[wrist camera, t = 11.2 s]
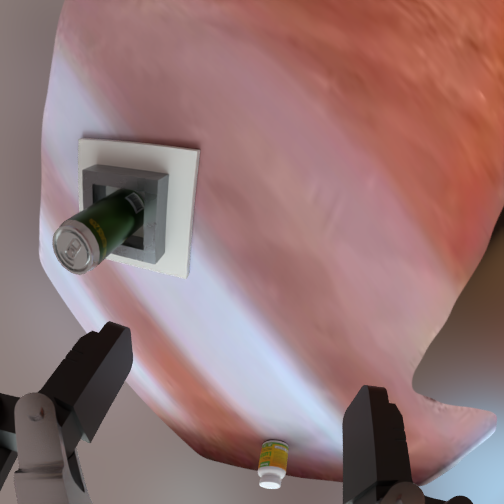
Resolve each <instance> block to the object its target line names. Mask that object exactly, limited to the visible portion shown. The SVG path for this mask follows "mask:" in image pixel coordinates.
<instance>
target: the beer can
mask: <svg viewBox="0 0 504 504" xmlns="http://www.w3.org/2000/svg"><path fill="white" fill-rule="evenodd" d="M143 224H144V198H143V197H142V195H141V194H139V193H138V192H137V191H135V190H129V189H123V188H122V189H119V190H117V191H115V192H113V193H111V194H109V195H108V196H106V197H104V198H103V199H101V200H99V201H97V202H96V203H94V204H92V205H91V206H89V207H87V208H86V209H84V210H82V211H81V212H79V213H77V214H76V215H74V216H72V217H71V218H69V219H68V220H66V221H64V222H63V223H62V224H61V225H60V227H59V228H58V229H57V230H56V232H55V233H54V236H53V249H54V253H55V255H56V257H57V259H58V261H59V262H60V263H61V265H62V266H63V267H64V268H65V269H67V270H68V271H70V272H72V273H74V274H79V275H81V274H85V273H86V272H87V271H91V270H93V269H94V268H95V267H96V266H97V265H99V264H100V263H101V262H102V261H103V260H104V259H105V258H106V257H107V256H108V255H110V254H111V253H112V252H113V251H114V250H115V249H116V248H117V247H119V246H120V245H121V244H122V243H123V242H124V241H125V240H126V239H128V238H129V237H130V236H131V235H132V234H133V233H135V232H136V231H137V230H138V229H139V228H140V227H142V226H143Z"/></svg>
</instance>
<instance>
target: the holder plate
mask: <svg viewBox="0 0 504 504" xmlns="http://www.w3.org/2000/svg"><path fill="white" fill-rule="evenodd" d="M199 157H200V150H198V149H191V148H183V147H176V146H168V145H159V144H150V143H141V142H131V141H120V140H107V139H93V138H81V139H79V145H78V184H79V210H80V212H81V211H82V210H83V187H82V170H83V169H86V168H88V167H91V166H93V165H96V164H99V165H108V166H116V167H124V168H131V169H138V170H146V171H153V172H159V173H166V174H169V183H168V198H167V215H166V236H165V254H164V255H163V256H162V257H161V258H160V260H159V261H158V262H157V263H156V264H151V263H147V262H142V261H138V260H134V259H130V258H126V257H122V256H118V255H114V254H110V255H108V256H107V257H106V258H105V259H108V260H112V261H116V262H120V263H124V264H128V265H131V266H135V267H139V268H143V269H147V270H151V271H155V272H159V273H163V274H167V275H172V276H176V277H180V278H184V279H187V277H188V276H189V265H190V251H191V238H192V226H193V215H194V204H195V194H196V184H197V175H198V165H199ZM119 189H122V188H117V187H110V186H106V196H108V195H109V194H111V193H113V192H115V191H117V190H119ZM137 192H138V193H139V194H141V195H142V197H143V198H144V197H145V192H141V191H137ZM132 235H134V236H139V237H143V238H144V224H143V226H142V227H140V228H139V229H138V230H137V231H136V232H135V233H133V234H132Z"/></svg>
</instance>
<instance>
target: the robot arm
mask: <svg viewBox="0 0 504 504" xmlns="http://www.w3.org/2000/svg"><path fill="white" fill-rule="evenodd" d="M132 363H133V352H132V341H131V331H130V328H128V327H125V326H122V325H119V324H116V323H113V322H111V321H109V322H107V323H106V324H105V325H104V327H103V328H102V329H101V331H100V332H99V333H97V332H95V331H91V332H89V333H88V334H86V335H84V336H83V337H81V338H80V339H79V340H78V342H77V343H76V344H75V345H74V347H73V348H72V350H70V352H69V353H68V354H67V355H66V358H65V359H63V361H62V362H61V364H60V365H59V366H58V367H57V369H56V370H55V371H54V373H53V374H52V376H51V377H50V378H49V379H48V381H47V382H46V384H45V385H44V386H43V388H42V389H41V390H40V391H39V392H37V393H29V394H26V395H24V396H22V397H21V398H20V397H14V396H10V395H5V394H2V393H0V490H1V488H2V486H3V484H4V482H5V480H6V478H7V476H8V474H9V472H10V470H11V468H12V466H13V464H14V462H15V460H16V458H17V456H18V461H19V470H18V471H15V473H14V485H15V491H16V496H17V501H18V504H93V503H92V501H91V499H90V497H89V494H88V491H87V487H86V484H85V480H84V477H83V473H82V469H81V465H80V461H79V457H78V453H77V448H76V446H77V444H78V442H79V441H80V439H82V440H84V441H86V442H88V443H91V441H92V439H93V437H94V436H95V434H96V432H97V430H98V428H99V426H100V424H101V423H102V421H103V419H104V417H105V415H106V413H107V412H108V410H109V408H110V406H111V404H112V403H113V401H114V399H115V397H116V396H117V394H118V392H119V390H120V388H121V387H122V385H123V383H124V381H125V380H126V378H127V376H128V374H129V372H130V370H131V367H132ZM343 504H473V503H472V502H471V500H470V499H468V498H467V497H465V496H456V497H453V498H452V499H450V500H449V501H443V500H438V499H434V498H430V497H427V496H425V495H424V494H423V492H422V490H421V489H420V488H419V487H418V486H417V485H416V484H414V483H413V481H412V477H411V469H410V461H409V454H408V447H407V442H406V435H405V431H404V423H403V417H402V415H401V413H400V411H399V410H398V408H397V406H396V405H395V404H392V403H389V400H388V394H387V390H386V389H385V388H384V387H376V386H368V385H364V386H362V388H361V389H360V391H359V392H358V394H357V395H356V397H355V398H354V400H353V401H352V402H351V404H350V405H349V407H348V408H347V410H346V412H345V414H344V418H343Z"/></svg>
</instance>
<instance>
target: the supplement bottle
mask: <svg viewBox="0 0 504 504" xmlns="http://www.w3.org/2000/svg"><path fill="white" fill-rule="evenodd" d="M287 457H288V445H287V444H286V443H284V442H282V441H278V440H269V441H266V442H264V443H263V445H262V449H261V455H260V461H259V467H258V475H259V476H260V477H261V478H260V484H259V485H260V486H261V487H264V488H268V489H276V488H279V487H280V485H281V479H282V478H283V477H284V476H285V474H286V466H287Z"/></svg>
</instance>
